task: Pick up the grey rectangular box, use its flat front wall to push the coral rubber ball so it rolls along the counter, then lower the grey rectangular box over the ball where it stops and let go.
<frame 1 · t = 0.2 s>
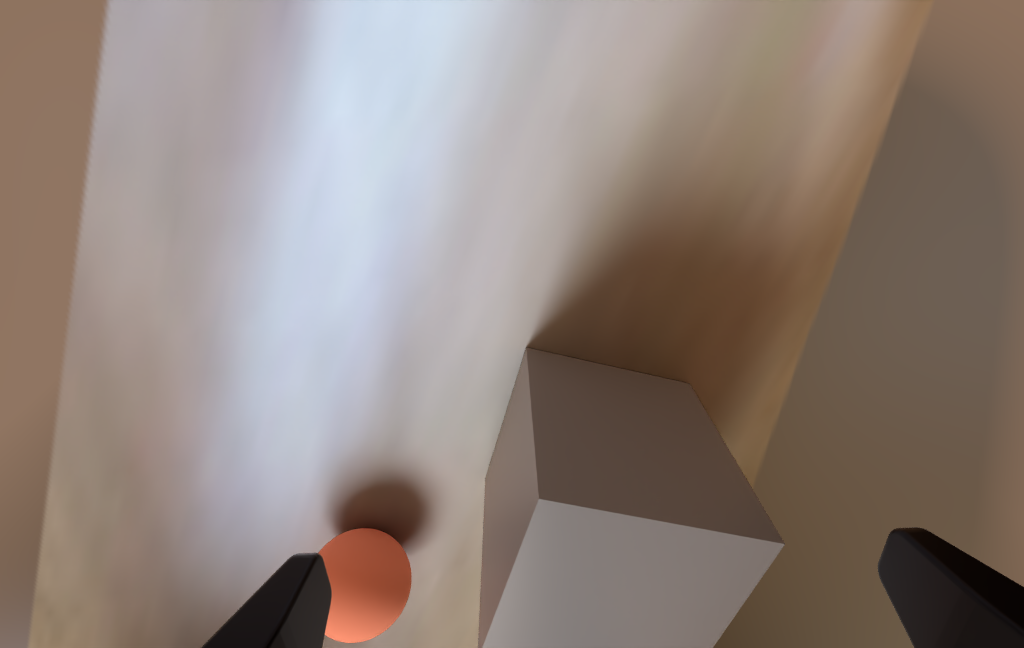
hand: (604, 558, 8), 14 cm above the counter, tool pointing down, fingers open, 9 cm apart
ball: (359, 582, 25), on the counter
grey rectangular box: (582, 433, 24), on the counter
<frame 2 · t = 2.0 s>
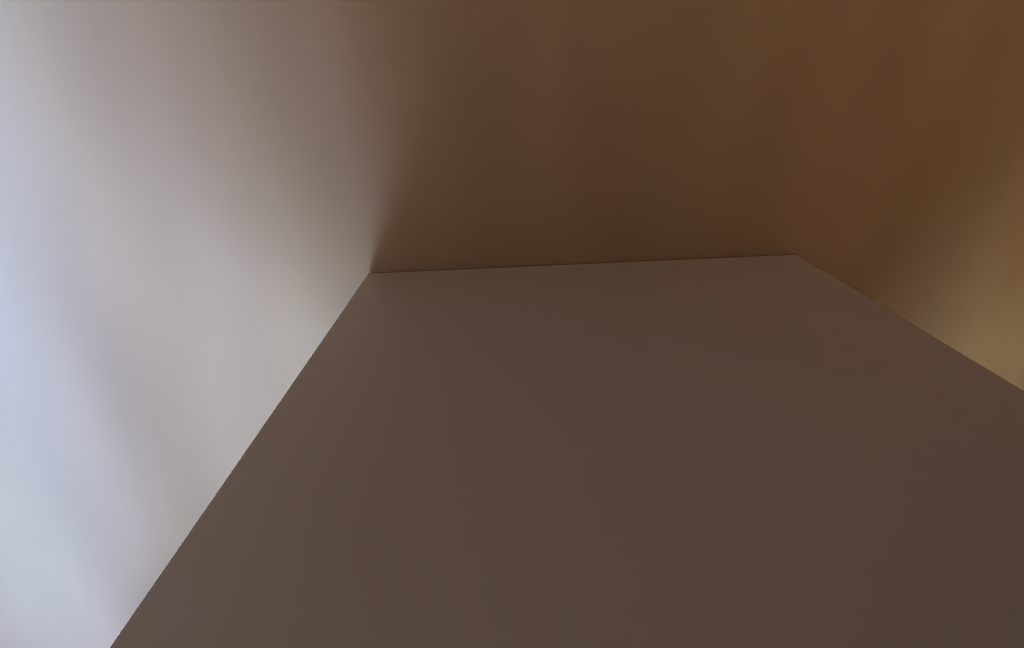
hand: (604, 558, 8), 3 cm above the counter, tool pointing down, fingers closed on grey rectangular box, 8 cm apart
grey rectangular box: (579, 436, 11), on the counter, touching gripper
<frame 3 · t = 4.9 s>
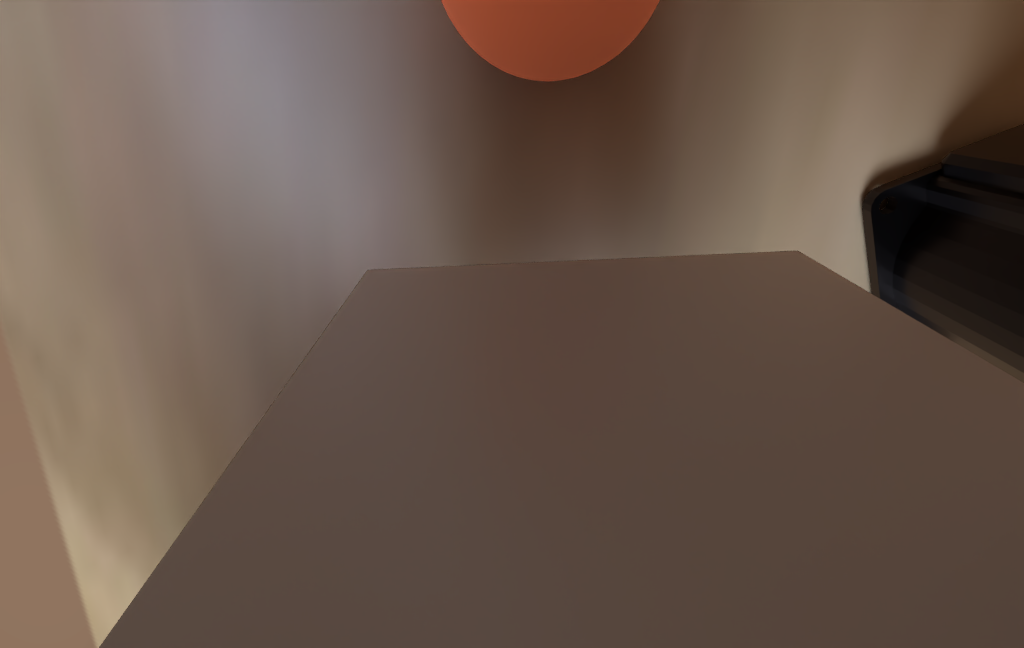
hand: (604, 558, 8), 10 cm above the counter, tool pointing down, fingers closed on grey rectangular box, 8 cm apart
grey rectangular box: (579, 434, 11), point 7 cm above the counter, touching gripper
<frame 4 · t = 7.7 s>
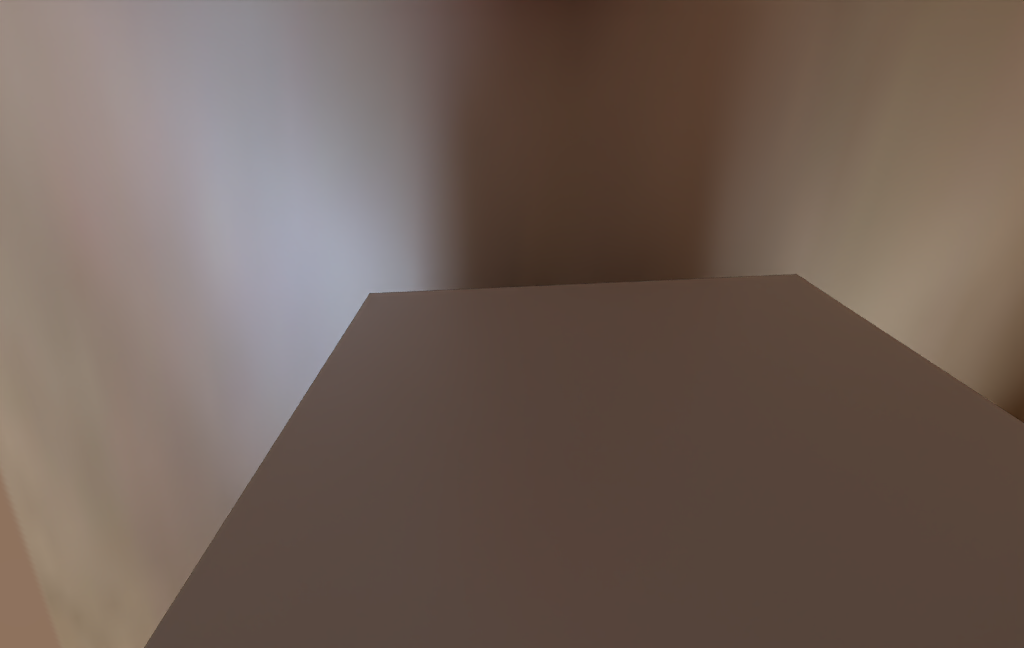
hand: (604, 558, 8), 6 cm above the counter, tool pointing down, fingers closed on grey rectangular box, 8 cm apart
grey rectangular box: (579, 453, 11), point 3 cm above the counter, touching gripper
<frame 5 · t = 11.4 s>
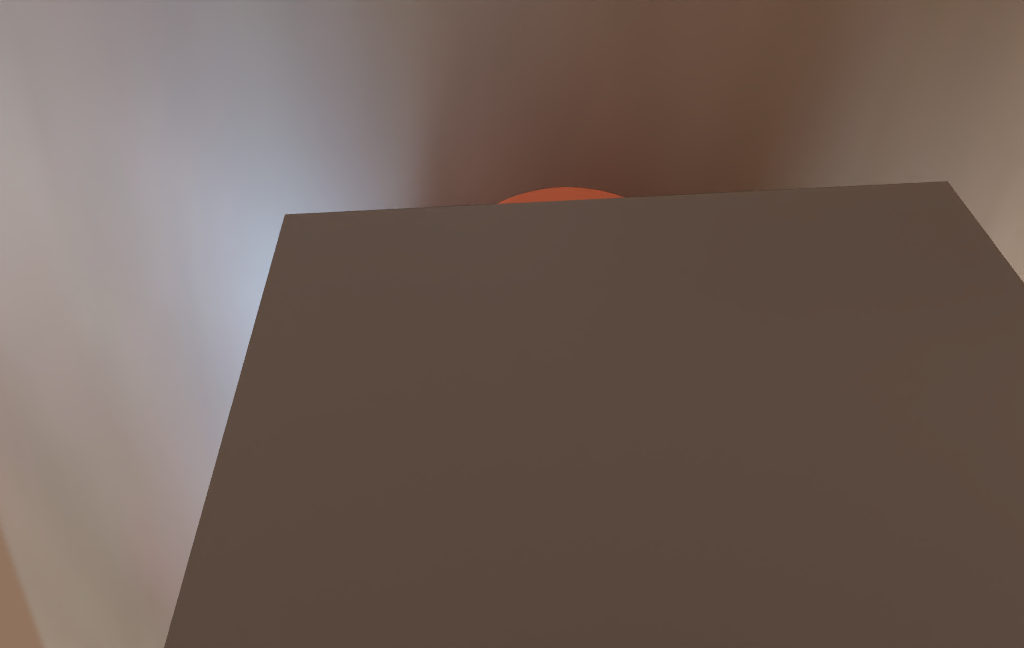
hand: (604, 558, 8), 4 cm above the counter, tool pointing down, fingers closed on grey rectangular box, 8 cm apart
ball: (563, 343, 9), on the counter, touching grey rectangular box
grey rectangular box: (585, 360, 9), point 2 cm above the counter, tilted 32°, touching ball, gripper
when the fingers open (4 cm above the counter, at t = 12.2 s): grey rectangular box stays where it is, point 2 cm above the counter.
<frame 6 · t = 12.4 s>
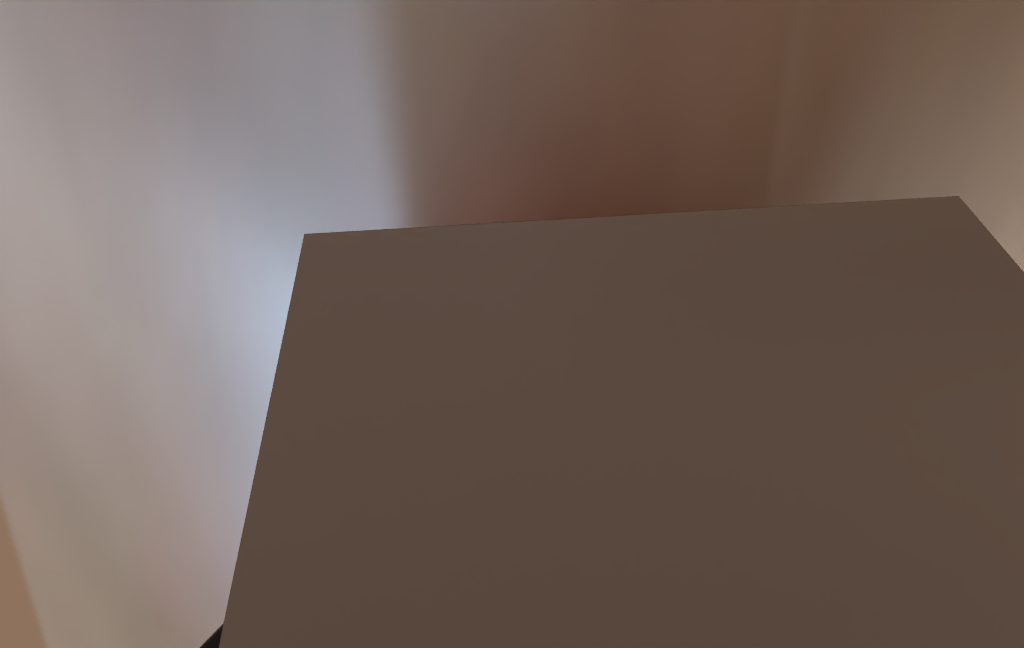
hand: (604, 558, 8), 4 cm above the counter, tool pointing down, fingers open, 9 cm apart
grey rectangular box: (596, 376, 9), point 2 cm above the counter, tilted 32°, touching gripper
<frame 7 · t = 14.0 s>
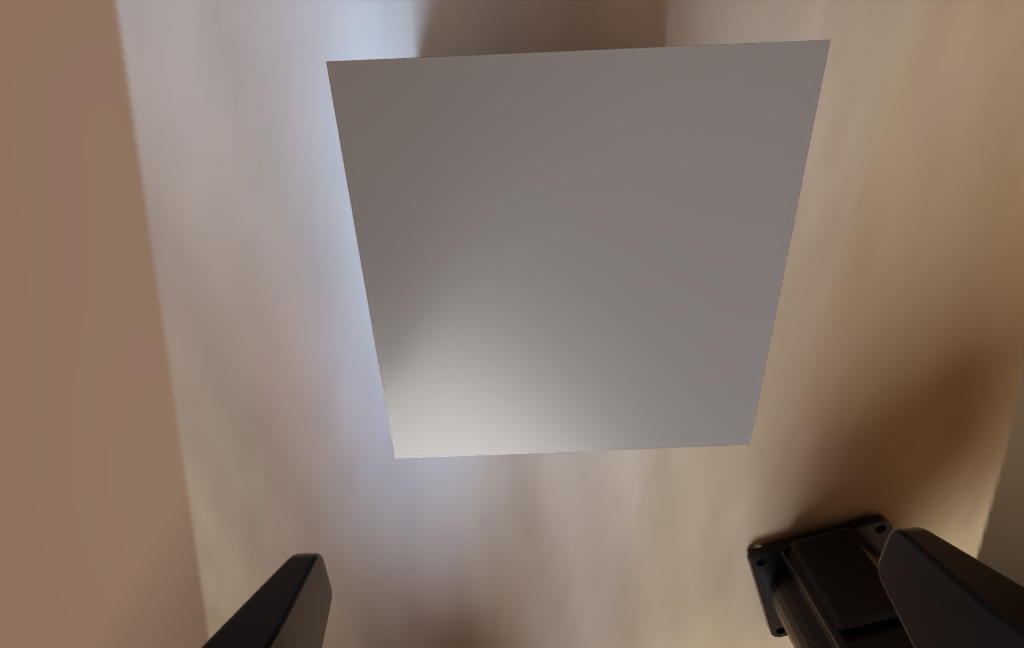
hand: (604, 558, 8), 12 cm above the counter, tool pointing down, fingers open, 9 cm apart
grey rectangular box: (542, 192, 17), on the counter
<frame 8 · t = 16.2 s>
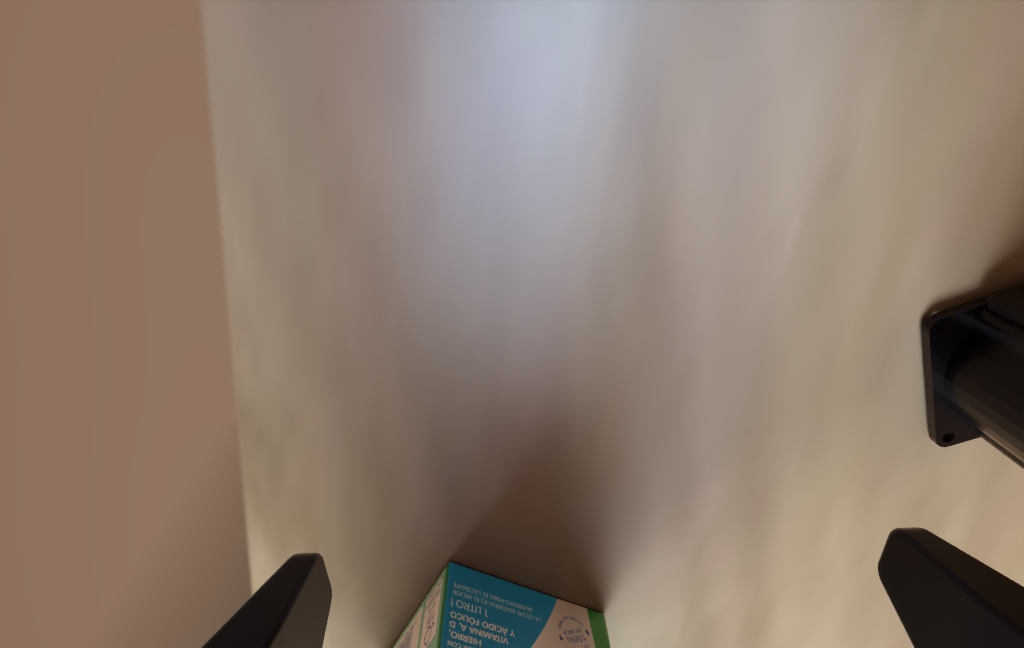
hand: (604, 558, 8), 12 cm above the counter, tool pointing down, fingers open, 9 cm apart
milk carton: (490, 634, 28), on the counter
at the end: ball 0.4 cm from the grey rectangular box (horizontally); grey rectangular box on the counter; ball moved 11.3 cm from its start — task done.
